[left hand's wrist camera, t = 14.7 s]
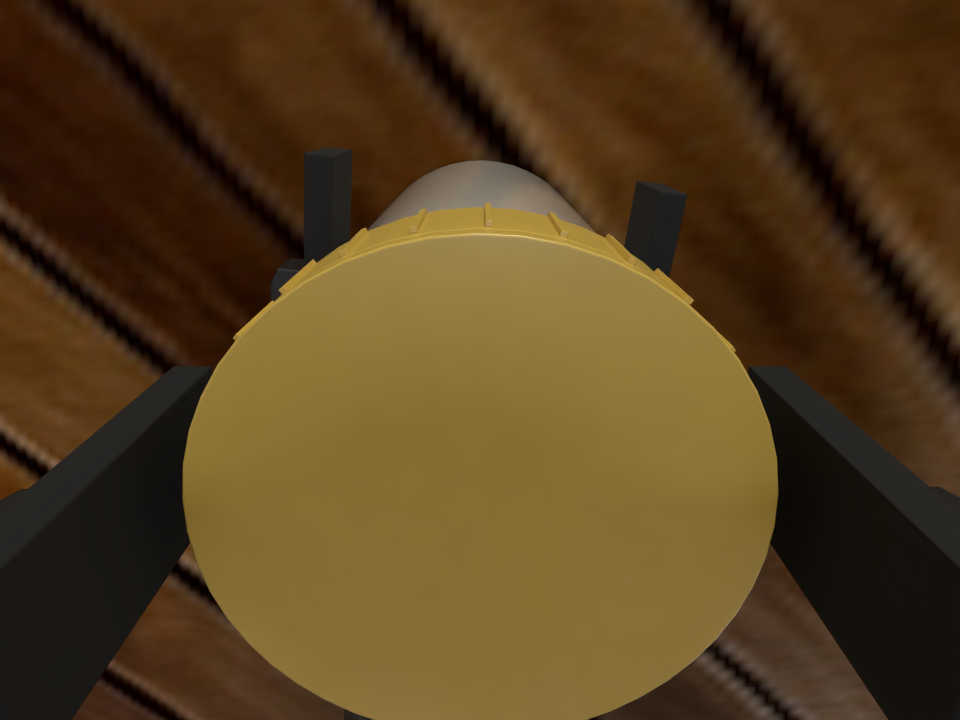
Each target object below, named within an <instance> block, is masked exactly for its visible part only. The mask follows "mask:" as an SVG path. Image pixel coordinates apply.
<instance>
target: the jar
mask: <svg viewBox="0 0 960 720" xmlns="http://www.w3.org/2000/svg"><path fill="white" fill-rule="evenodd" d="M485 203H491V207H492V208H502V209H516V210H521V211H526V212H531V213H537V214H542V215H548V212H553V213H555V214H556V216H557V217H558V218H559V219H560V220H563V221H566V222H569V223H572V224H575V225H578V226H581V227H584V228H586V229H588V230H590V231H592V232H594V233H596V232H595V231H594V230H593V229H592V228H591V227H590V226H589V225H588V224H587V223H586V222H585V221H584V219H583V218H582V217H581V216H580V215H579V214H578V213H577V212H576V211H575V210H574V209H573V208H572V207H571V206H570V205H569V204H568V202H567V201H566V200H565V199H564V198H563V197H562V196H561V195H560V194H559V193H558V192H557V191H556V190H555V189H554V188H553V187H551V186H550V185H549V184H547V183H546V182H545V181H543V180H542V179H541V178H539V177H537V176H535V175H534V174H532V173H530V172H528V171H526V170H523V169H521V168H518V167H516V166H513V165H509V164H505V163H500V162H493V161H466V162H461V163H455V164H451V165H448V166H445V167H442V168H439V169H437V170H434V171H432V172H430V173H428V174H426V175H424V176H423V177H421V178H420V179H418V180H417V181H415V182H414V183H413V184H411V185H410V186H409V187H408V188H407V189H406V190H405V191H403V192H402V193H401V194H400V195H399V196H398V197H397V198H396V200H395V201H394V202H393V203H392V204H391V205H390V206H389V207H388V208H387V209H386V210H385V211H384V212H383V213H382V214H381V215H380V217H379V218H378V219H377V220H376V221H375V222H374V223H373V224H372V225H371V226H370V227H369V228H368V229H367V231H370V230H372V229H375V228H377V227H380V226H383V225H386V224H389V223H391V222H394V221H397V220H400V219H402V218H405V217H410V216H415V215H417V214H418V213H419V211H420V209H425V208H426V209H427V213H429V212H433V211H438V210H446V209H459V208H472V207H484V204H485ZM596 234H597V233H596Z"/></svg>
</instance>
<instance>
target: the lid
mask: <svg viewBox="0 0 960 720" xmlns="http://www.w3.org/2000/svg"><path fill="white" fill-rule="evenodd" d="M279 291H280V292H281V294H282V295H281V296H280V297H279V298H278V299H277V300H275V301H271V302H270V303H269V304H268V305H267V306H266V307H265V308H264V309H263V310H262V311H260V312H259V313H258V314H257V315H256V316H255V317H254V318H253V319H252V320H251V321H250V322H248V323H247V324H246V325H245V326H244V327H243V328H242V329H241V330H240V331H239V332H238V333H237V334H236V335H235V336H234V337H233V339H234V340H235V342H234V344H233V345H232V346H231V348H230V349H229V350H228V352H227V353H226V354H225V356H224V357H223V358H222V360H221V361H220V362H219V363H218V365H217V367H216V369H215V371H214V373H213V374H212V376H211V378H210V380H209V382H208V384H207V386H206V387H205V389H204V391H203V393H202V395H201V397H200V400H199V403H198V406H197V408H196V411H195V414H194V417H193V420H192V423H191V426H190V429H189V433H188V438H187V444H186V450H185V455H184V461H183V495H182V499H183V506H184V513H185V520H186V527H187V533H188V536H189V539H190V543H191V546H192V549H193V553H194V556H195V559H196V563H197V565H198V567H199V569H200V571H201V573H202V575H203V578H204V580H205V582H206V584H207V586H208V588H209V591H210V592H211V594H212V595H213V597H214V599H215V600H216V602H217V603H218V605H219V606H220V608H221V609H222V611H223V613H224V614H225V616H226V617H227V619H228V620H229V621H230V622H231V623H232V625H233V626H234V627H235V628H236V629H237V631H238V632H239V633H240V634H241V635H242V636H243V638H244V639H245V640H246V641H247V642H248V643H249V644H250V645H251V646H252V647H253V648H254V649H255V650H256V651H257V652H258V653H259V654H260V655H261V656H263V657H264V658H265V659H266V660H267V661H268V662H269V663H270V664H271V665H272V666H274V667H275V668H276V669H278V670H279V671H281V672H282V673H283V674H285V675H286V676H287V677H289V678H290V679H291V680H293V681H294V682H295V683H297V684H298V685H300V686H302V687H304V688H305V689H307V690H309V691H310V692H312V693H314V694H316V695H317V696H319V697H321V698H323V699H324V700H326V701H328V702H331V703H333V704H335V705H337V706H340V707H342V708H344V709H346V710H348V711H351V712H353V713H355V714H358V715H361V716H364V717H367V718H370V719H373V720H588V719H590V718H593V717H596V716H599V715H602V714H605V713H607V712H610V711H613V710H615V709H617V708H619V707H621V706H623V705H625V704H627V703H630V702H632V701H634V700H636V699H638V698H640V697H642V696H643V695H645V694H647V693H648V692H650V691H652V690H653V689H655V688H657V687H658V686H660V685H662V684H663V683H665V682H667V681H668V680H669V679H671V678H672V677H673V676H675V675H676V674H677V673H679V672H680V671H681V670H682V669H684V668H685V667H686V666H688V665H689V664H690V663H692V662H693V661H694V660H695V659H696V658H697V657H698V656H699V655H700V654H701V653H702V652H703V651H704V650H705V649H706V648H707V647H708V646H709V645H710V644H712V643H713V642H714V641H715V640H716V639H717V637H718V636H719V635H720V634H721V632H722V631H723V630H724V629H725V627H726V626H727V625H728V624H729V623H730V621H731V620H732V619H733V618H734V616H735V615H736V614H737V612H738V611H739V609H740V607H741V606H742V604H743V602H744V601H745V599H746V597H747V596H748V594H749V593H750V591H751V589H752V588H753V586H754V584H755V581H756V579H757V577H758V574H759V572H760V570H761V567H762V565H763V563H764V561H765V558H766V555H767V552H768V548H769V544H770V541H771V537H772V533H773V530H774V526H775V518H776V509H777V500H778V473H777V456H776V451H775V447H774V442H773V437H772V432H771V427H770V423H769V420H768V418H767V415H766V413H765V410H764V407H763V405H762V402H761V399H760V397H759V394H758V391H757V389H756V388H755V386H754V384H753V382H752V381H751V379H750V377H749V375H748V374H747V372H746V370H745V369H744V367H743V365H742V363H741V362H740V360H739V358H738V357H737V356H736V354H735V353H734V352H735V351H736V350H735V349H734V347H733V346H732V345H731V344H730V343H729V342H728V341H727V340H726V339H725V338H724V337H723V336H722V335H721V334H720V333H718V332H717V331H716V329H715V328H714V327H713V326H712V325H711V324H709V323H708V322H707V321H706V320H705V319H704V318H703V317H702V316H701V315H700V314H699V313H698V312H697V311H696V310H694V309H693V308H692V307H691V306H690V304H691V303H692V302H693V301H694V300H693V299H692V298H691V297H690V296H689V295H688V294H686V293H685V292H684V291H683V290H682V289H681V288H680V287H679V286H677V285H676V284H675V283H674V282H673V281H672V280H671V279H670V278H668V277H667V276H666V275H665V274H664V273H663V272H662V271H661V270H659V269H658V268H657V269H656V270H655V271H652V270H651V269H650V268H649V267H648V266H647V265H646V264H645V263H644V262H642V261H641V260H639V259H638V258H636V257H635V256H633V255H632V254H631V253H630V252H629V251H627V250H626V249H625V248H624V247H623V246H622V245H621V244H620V243H619V242H618V241H617V240H616V239H615V238H614V237H613V236H611V235H609V234H607V236H606V238H604V237H602V236H600V235H598V234H596V233H594V232H592V231H590V230H588V229H586V228H584V227H581V226H578V225H575V224H572V223H569V222H566V221H563V220H560V219H559V218H558V217H557V216H556V214H555V213H553V212H548V215H542V214H537V213H531V212H526V211H521V210H516V209H502V208H492V207H491V203H485V204H484V207H472V208H459V209H446V210H438V211H433V212H429V213H427V209H426V208H425V209H420V211H419V213H418V214H417V215H415V216H410V217H405V218H402V219H400V220H397V221H394V222H391V223H389V224H386V225H383V226H380V227H377V228H375V229H372V230H370V231H367V229H366V228H363V229H361V230H360V231H359V232H358V233H357V234H356V235H355V236H354V237H353V238H352V239H351V240H350V241H349V242H347V243H345V244H343V245H341V246H339V247H338V248H337V249H335V250H334V251H333V252H331V253H330V254H328V255H327V256H326V257H324V258H323V259H321V260H320V261H319V262H317V263H316V262H315V260H314V259H313V260H312V261H310V262H309V263H308V264H307V265H306V266H305V267H304V268H302V269H301V270H300V271H299V272H298V273H297V274H296V275H295V276H294V277H292V278H291V279H290V280H289V281H288V282H287V283H286V284H285V285H283V286H282V287H281V288H280V289H279Z"/></svg>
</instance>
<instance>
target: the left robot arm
mask: <svg viewBox="0 0 960 720" xmlns="http://www.w3.org/2000/svg"><path fill="white" fill-rule="evenodd" d="M748 375H749V377H750V379H751V381H752V382H753V384H754V386H755V388H756V389H757V391H758V394H759V397H760V399H761V402H762V405H763V407H764V410H765V413H766V415H767V418H768V420H769V423H770V427H771V432H772V437H773V442H774V447H775V451H776V456H777V473H778V500H777V509H776V518H775V526H774V530H773V533H772V537H771V541H770V544H771V545H772V547H773V548H774V550H775V551H776V553H777V554H778V556H779V557H780V559H781V560H782V562H783V563H784V565H785V566H786V568H787V569H788V571H789V572H790V574H791V575H792V577H793V578H794V579H795V581H796V582H797V584H798V585H799V587H800V588H801V590H802V591H803V593H804V594H805V596H806V597H807V599H808V600H809V602H810V603H811V605H812V606H813V608H814V609H815V611H816V612H817V614H818V615H819V617H820V618H821V620H822V621H823V623H824V624H825V626H826V627H827V629H828V630H829V632H830V633H831V635H832V636H833V638H834V639H835V641H836V642H837V644H838V645H839V647H840V648H841V650H842V651H843V653H844V654H845V656H846V657H847V659H848V660H849V662H850V663H851V665H852V666H853V668H854V669H855V671H856V672H857V674H858V675H859V677H860V678H861V680H862V681H863V683H864V684H865V686H866V687H867V689H868V690H869V692H870V693H871V695H872V696H873V698H874V699H875V701H876V702H877V704H878V705H879V707H880V708H881V710H882V711H883V713H884V714H885V715H886V717H887V718H888V720H960V497H958V496H956V495H954V494H952V493H950V492H948V491H946V490H944V489H942V488H940V487H929V486H928V485H927V484H925V483H924V482H923V481H922V480H921V479H919V478H918V477H917V476H916V475H915V474H913V473H912V472H911V471H910V470H909V469H907V468H906V467H905V466H904V465H903V464H902V463H900V462H899V461H898V460H897V459H896V458H894V457H893V456H892V455H891V454H890V453H888V452H887V451H886V450H885V449H884V448H882V447H881V446H880V445H879V444H878V443H877V442H875V441H874V440H873V439H872V438H871V437H869V436H868V435H867V434H866V433H865V432H863V431H862V430H861V429H860V428H859V427H857V426H856V425H855V424H854V423H853V422H852V421H850V420H849V419H848V418H847V417H846V416H844V415H843V414H842V413H841V412H840V411H838V410H837V409H836V408H835V407H834V406H832V405H831V404H830V403H829V402H828V401H827V400H825V399H824V398H823V397H822V396H821V395H819V394H818V393H817V392H816V391H815V390H813V389H812V388H811V387H810V386H809V385H807V384H806V383H805V382H804V381H803V380H802V379H800V378H799V377H798V376H797V375H796V374H794V373H793V372H792V371H791V370H790V369H788V368H787V367H749V369H748ZM211 376H212V369H211V367H173V368H172V369H170V370H169V371H168V372H167V373H166V374H164V375H163V376H162V377H161V378H160V379H158V380H157V381H156V382H155V383H154V384H153V385H151V386H150V387H149V388H148V389H147V390H145V391H144V392H143V393H142V394H141V395H139V396H138V397H137V398H136V399H135V400H133V401H132V402H131V403H130V404H129V405H128V406H126V407H125V408H124V409H123V410H122V411H120V412H119V413H118V414H117V415H116V416H114V417H113V418H112V419H111V420H110V421H108V422H107V423H106V424H105V425H104V426H103V427H101V428H100V429H99V430H98V431H97V432H95V433H94V434H93V435H92V436H91V437H89V438H88V439H87V440H86V441H85V442H83V443H82V444H81V445H80V446H79V447H78V448H76V449H75V450H74V451H73V452H72V453H70V454H69V455H68V456H67V457H66V458H64V459H63V460H62V461H61V462H60V463H58V464H57V465H56V466H55V467H54V468H53V469H51V470H50V471H49V472H48V473H47V474H45V475H44V476H43V477H42V478H41V479H39V480H38V481H37V482H36V483H35V484H33V485H32V486H31V487H30V488H29V489H21V490H19V491H17V492H15V493H13V494H11V495H9V496H7V497H6V498H4V499H2V500H0V720H72V718H73V717H74V715H75V714H76V713H77V711H78V710H79V708H80V707H81V705H82V704H83V702H84V701H85V699H86V698H87V696H88V695H89V693H90V692H91V690H92V689H93V687H94V686H95V684H96V683H97V681H98V680H99V678H100V677H101V675H102V674H103V672H104V671H105V669H106V668H107V666H108V665H109V663H110V662H111V660H112V659H113V657H114V656H115V654H116V653H117V651H118V650H119V648H120V647H121V645H122V644H123V642H124V641H125V639H126V638H127V636H128V635H129V633H130V632H131V630H132V629H133V627H134V626H135V624H136V623H137V621H138V620H139V618H140V617H141V615H142V614H143V612H144V611H145V609H146V608H147V606H148V605H149V603H150V602H151V600H152V599H153V597H154V596H155V594H156V593H157V591H158V590H159V588H160V587H161V585H162V584H163V582H164V581H165V579H166V578H167V577H168V575H169V574H170V572H171V571H172V569H173V568H174V566H175V565H176V563H177V562H178V560H179V559H180V557H181V556H182V554H183V553H184V551H185V550H186V548H187V547H188V545H189V544H190V539H189V536H188V533H187V527H186V520H185V513H184V506H183V499H182V495H183V461H184V455H185V450H186V444H187V438H188V433H189V429H190V426H191V423H192V420H193V417H194V414H195V411H196V408H197V406H198V403H199V400H200V397H201V395H202V393H203V391H204V389H205V387H206V386H207V384H208V382H209V380H210V378H211Z"/></svg>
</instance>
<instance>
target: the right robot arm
mask: <svg viewBox="0 0 960 720" xmlns="http://www.w3.org/2000/svg"><path fill="white" fill-rule="evenodd" d="M351 176H352V150H346V149H337V148H328V147H327V148H323V149H319V150H315V151H311V152H307V153H304V260H303V259H293V258H290V259H289V260H288V261H286V262H285V263H284V264H283V265H281V266H280V267H279V268H278V269H277V271H276V273H275V275H274V278H273V280H272V283H271V301H275V300H277V299H278V298H279V297H280V296H281V295H282V294H281V292H280V291H279V289H280V288H281V287H282V286H283V285H285V284H286V283H287V282H288V281H289V280H290V279H291V278H292V277H294V276H295V275H296V274H297V273H298V272H299V271H300V270H301V269H302V268H304V267H305V266H306V265H307V264H308V263H309V262H310V261H312V260H313V259H314V260H315V262H316V263H317V262H319V261H320V260H321V259H323V258H324V257H326V256H327V255H328V254H330V253H331V252H333V251H334V250H335V249H337V248H338V247H339V246H341V245H343V244H345V243H347V242H349V241H350V212H351ZM686 199H687V194H684V193H682V192H679V191H677V190H675V189H672V188H670V187H667V186H665V185H662V184H658V183H649V182H640V181H637V183H636V188H635V193H634V198H633V204H632V209H631V214H630V219H629V225H628V230H627V235H626V240H625V246H624V248H625V249H626V250H627V251H629V252H630V253H631V254H632V255H633V256H635V257H636V258H638V259H639V260H641V261H642V262H644V263H645V264H646V265H647V266H648V267H649V268H650V269H651V270H652V271H655V270H656V269H657V268H658V269H659V270H661V271H662V272H663V273H664V274H665V275H666V276H667V277H668V278H669V276H670V271H671V267H672V262H673V257H674V253H675V248H676V244H677V239H678V235H679V230H680V226H681V221H682V217H683V212H684V208H685V203H686ZM344 720H373V719H370V718H367V717H364V716H361V715H358V714H355V713H353V712H351V711H348V710H346V709H345V713H344Z"/></svg>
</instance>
